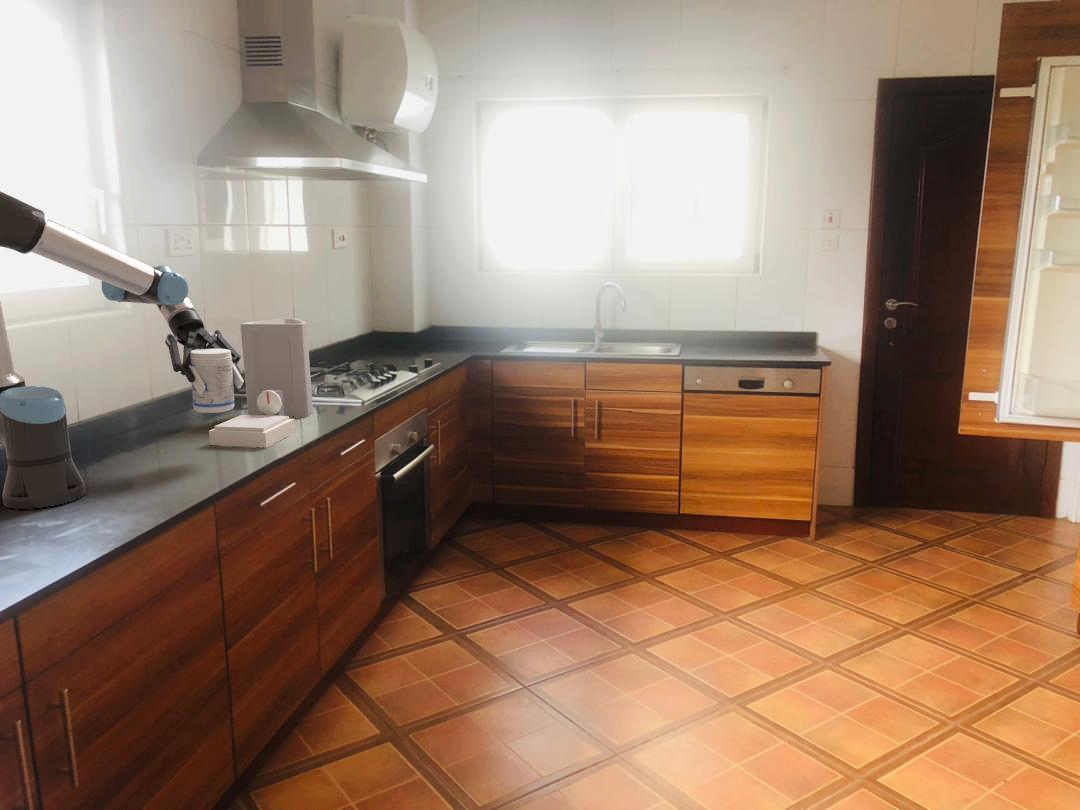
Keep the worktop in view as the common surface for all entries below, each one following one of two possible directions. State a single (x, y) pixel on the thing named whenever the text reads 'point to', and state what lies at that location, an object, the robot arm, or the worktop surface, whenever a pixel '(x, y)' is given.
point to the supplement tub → (213, 380)
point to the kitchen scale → (256, 424)
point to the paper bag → (277, 364)
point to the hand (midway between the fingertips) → (222, 387)
